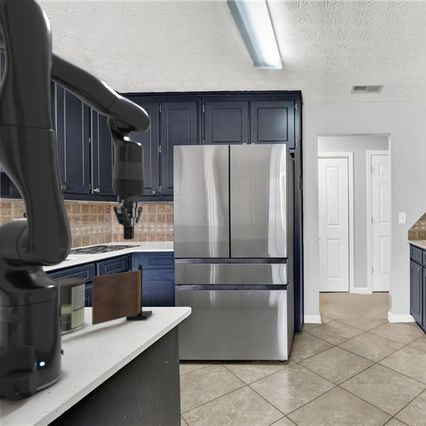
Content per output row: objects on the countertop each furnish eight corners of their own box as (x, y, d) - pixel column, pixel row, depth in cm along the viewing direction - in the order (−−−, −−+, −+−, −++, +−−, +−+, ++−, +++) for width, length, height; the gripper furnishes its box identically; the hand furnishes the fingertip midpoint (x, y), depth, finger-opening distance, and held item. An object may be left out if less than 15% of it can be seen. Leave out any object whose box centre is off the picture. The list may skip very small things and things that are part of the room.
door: (93, 325, 87) (93, 277, 87) (91, 324, 88) (92, 276, 88) (141, 313, 98) (141, 270, 97) (139, 312, 98) (139, 270, 98)
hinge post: (146, 319, 97) (146, 266, 96) (125, 320, 95) (126, 266, 95) (152, 314, 101) (152, 263, 101) (132, 315, 100) (133, 263, 100)
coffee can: (49, 339, 81) (49, 287, 81) (32, 331, 86) (32, 282, 86) (92, 326, 91) (92, 279, 90) (75, 320, 95) (75, 275, 95)
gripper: (125, 180, 91) (125, 237, 92) (102, 175, 78) (101, 242, 79) (152, 181, 93) (151, 237, 93) (133, 176, 80) (133, 241, 80)
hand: (128, 239), depth 86 cm, fingers closed
